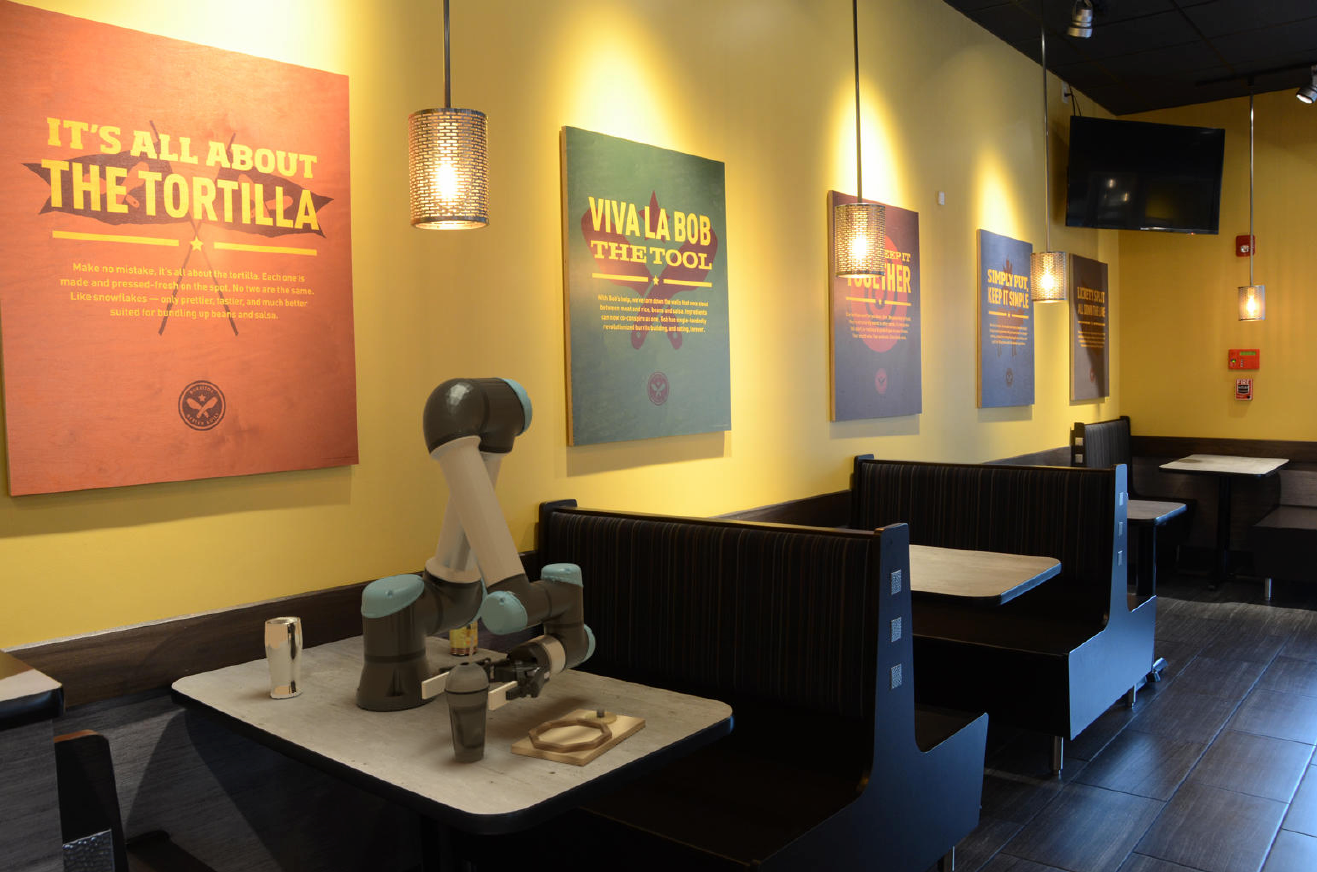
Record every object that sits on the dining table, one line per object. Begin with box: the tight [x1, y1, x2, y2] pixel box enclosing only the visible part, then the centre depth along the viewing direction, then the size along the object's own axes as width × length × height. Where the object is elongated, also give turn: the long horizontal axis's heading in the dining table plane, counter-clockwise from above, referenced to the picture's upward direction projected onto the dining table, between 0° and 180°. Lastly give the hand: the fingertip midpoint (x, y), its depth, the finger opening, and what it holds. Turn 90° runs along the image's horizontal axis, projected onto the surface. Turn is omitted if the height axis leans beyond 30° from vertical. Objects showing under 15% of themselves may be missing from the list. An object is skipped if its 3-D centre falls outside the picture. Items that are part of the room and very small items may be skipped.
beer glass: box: [264, 616, 303, 695], centre depth 193 cm, size 7×7×15 cm
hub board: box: [510, 708, 646, 767], centre depth 164 cm, size 14×20×3 cm
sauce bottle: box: [449, 620, 479, 654], centre depth 221 cm, size 6×6×20 cm
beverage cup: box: [444, 635, 490, 764], centre depth 157 cm, size 7×7×20 cm
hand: (456, 695), depth 154 cm, fingers open, 13 cm apart
